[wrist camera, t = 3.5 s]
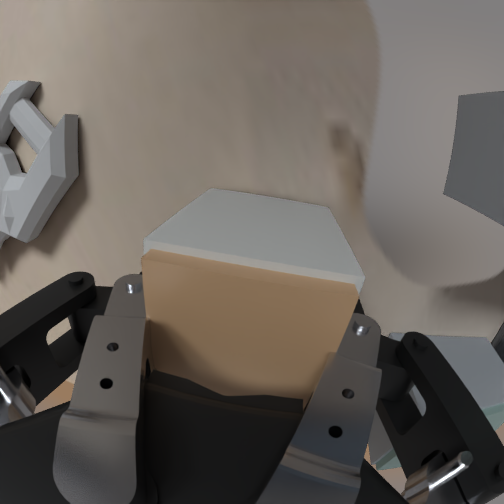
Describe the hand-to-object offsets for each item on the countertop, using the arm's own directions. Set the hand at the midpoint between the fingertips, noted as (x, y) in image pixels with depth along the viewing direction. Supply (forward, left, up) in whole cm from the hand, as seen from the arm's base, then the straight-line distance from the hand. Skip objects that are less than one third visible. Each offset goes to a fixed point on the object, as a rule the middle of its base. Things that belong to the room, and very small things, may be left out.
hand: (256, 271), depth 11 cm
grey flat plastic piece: (-2, -18, -2) cm, 19 cm away
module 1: (0, 0, -1) cm, 1 cm away
